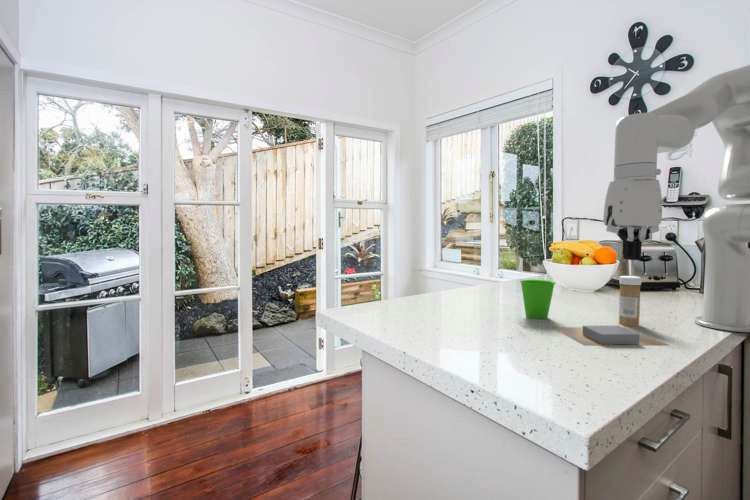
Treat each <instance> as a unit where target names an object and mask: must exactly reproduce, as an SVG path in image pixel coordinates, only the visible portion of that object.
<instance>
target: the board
mask: <svg viewBox="0 0 750 500" xmlns="http://www.w3.org/2000/svg"><path fill="white" fill-rule="evenodd" d="M621 327H622V326H621ZM622 328H625V329H627V330H630V331H632V332H635V333H637V334H640V336H639V344H601V343H599V342H597V341H595V340H593V339H591V338H589V337H587V336H585V335H583V326H582V327H579V326H576V327H575V326H573V327H571V326H569V327H568V326H567V327H566V326H565V327H561V326H559V327H557V326H553V327H552V329H554V330H556V331H557V332H559V333H561V334H563V335H564V336H566V337H568V338H569V339H572V340H573V341H576V342H577V343H579V344H581V345H582V346H670V344H668V343H666V342H663V341H661V340H659V339H656V338H652V337H651V336H649V335H645V334H643V333H641V332H638V331H635V330H633V329H631V328H627V326H623V327H622Z"/></svg>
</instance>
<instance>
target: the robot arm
mask: <svg viewBox="0 0 750 500" xmlns="http://www.w3.org/2000/svg"><path fill="white" fill-rule="evenodd" d="M710 123H712V124H713V127H714V129H715V130H716V133H718V135H719V137H720V139H721V141H722V143H723V147H724V153H723V159H722V164H721V168H720V174H719V177H718V178H719V179H718V185H717V192H718V193H717V194H718V196H719V197H720V198H721V199H723V200H727V201H731V202H732V201H734V202H736V201H739V202H740V201H743V202H744V201H745V202H746V201H750V64H748V65H745V66H742V67H738V68H734V69H732V70H728V71H725V72H722V73H719V74H715V75H714V76H712V77H710V78H708V79H707V80H704V82H702V83H700V84H699V85H698V86H696V87H695V88H693V89H691V90H690V91H689V92H687V93H686V94H684V95H683V96H680V97H678V98H675V99H673V100H672V101H669V102H668V103H665V104H664V105H663V104H662V106H660V107H658V108H655V109H652V110H651V111H649V112H639V113H633V114H629V115H625V116H623V117H621V118H620V119H618V120H617V122H616V124H615V129H614V130H615V131H614V133H615V134H614V157H613V158H614V163H613V166H614V167H613V181H609V184H608V187H607V190H606V195H605V201H604V206H603V207H604V208H603V225H604V226H606V229H605V231H606V232H607V233H610V234H615V235H616V236H617V237H618V238H619V240H620V241H621V242H622V259H624V260H629V261H640V260H641V256H642V246H643V245H642V243H643V242H644V241H646V238H647V236H649V235H650V234H654V233H658V232H659V231H660V226H659V225H660V224H661V223H662V219H663V198H662V196H663V195H662V189H661V184H660V180H659V179H657V176H660V175H661V173H662V170H661V169H660V168H658V154H663V153H669V152H674V151H677V150H678V151H679V150H681V149H682V148H685V147H686V146H688V145H689V144H690V143H691V142H692V140H693V139H694V136H695V131H696V130H698V129H700V128H702V127H704V126H707V125H708V124H710ZM701 225H702V231H703V232H702V233H703V238H704V243H705V261H704V263H705V264H704V265H705V266H704V280H703V281H704V283H703V300H702V316H701V315H700V316H696V317H695V318H694V323H695V324H697V325H700V326H703V327H706V328H710V329H715V330H721V331H729V332H737V333H738V332H739V333H750V248H749V247H748V246H747V245H746V244H745V243H750V203H735V204H734V203H733V204H732V203H731V204H723V205H718V206H714V207H712V208H710V209H708V210H707V211H706V212H705V213H704V214H703V216H702V223H701Z"/></svg>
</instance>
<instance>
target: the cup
mask: <svg viewBox="0 0 750 500" xmlns="http://www.w3.org/2000/svg"><path fill="white" fill-rule="evenodd" d="M519 283H520V284H521V289H522V297H523V298H522V299H523V304H524V310H525V311H524V312H525V313H524V314H525V317H526V318H527V319H528V318H529V319H535V320H546V319H548V317H549V312H550V307H551V302H552V298H553V291H554V288H555V285H556V282H555V281H552V280H545V279H521V280H520V281H519Z"/></svg>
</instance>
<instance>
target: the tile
mask: <svg viewBox="0 0 750 500" xmlns="http://www.w3.org/2000/svg"><path fill="white" fill-rule="evenodd" d="M582 327H583V335H585V336H587V337H589V338H591V339H593V340H595V341H597V342H599V343H601V344H639V336H640V334H637V333H635V332H632V331H630V330H627V329H625V328H622V326H620V325H582Z"/></svg>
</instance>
